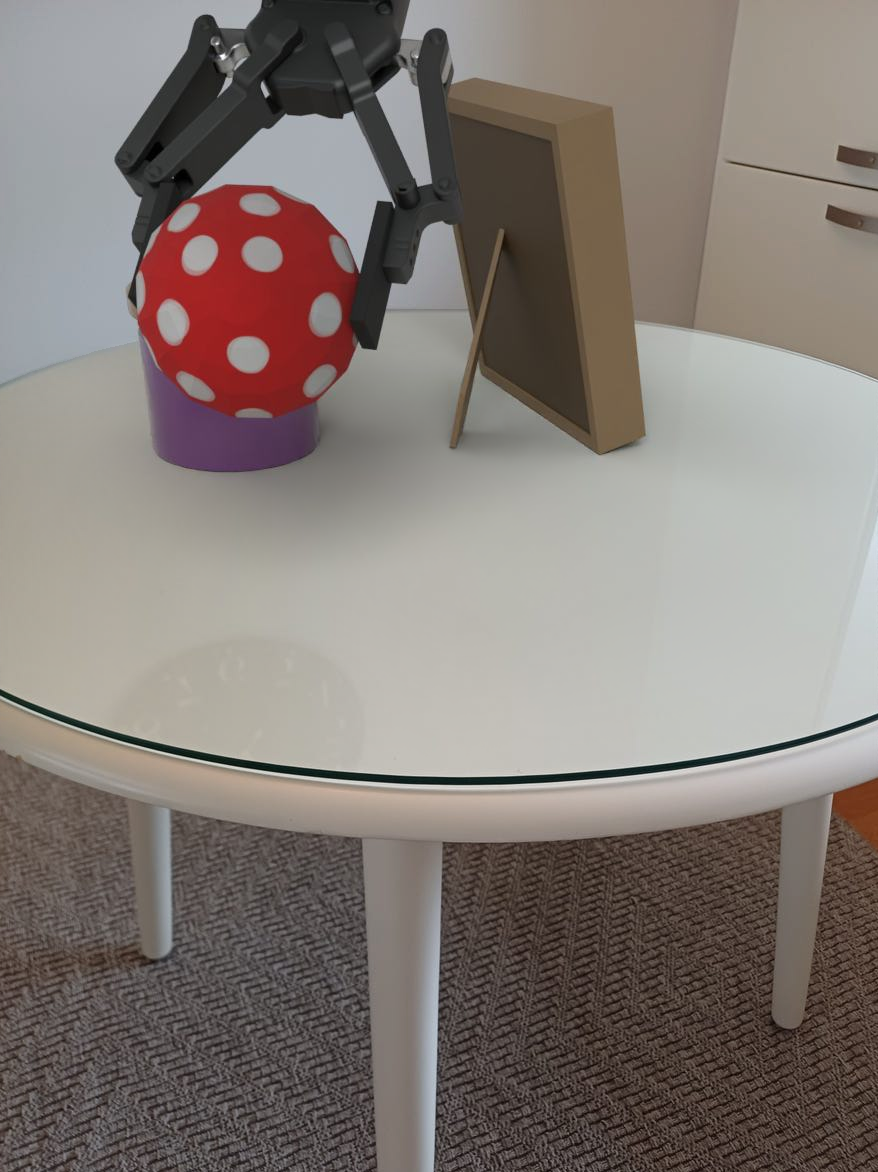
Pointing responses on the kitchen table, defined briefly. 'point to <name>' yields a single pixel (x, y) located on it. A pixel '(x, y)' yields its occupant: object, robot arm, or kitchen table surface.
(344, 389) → the kitchen table surface
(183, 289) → the red polka-dot ball
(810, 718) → the kitchen table surface
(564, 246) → the photo frame
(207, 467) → the jar
